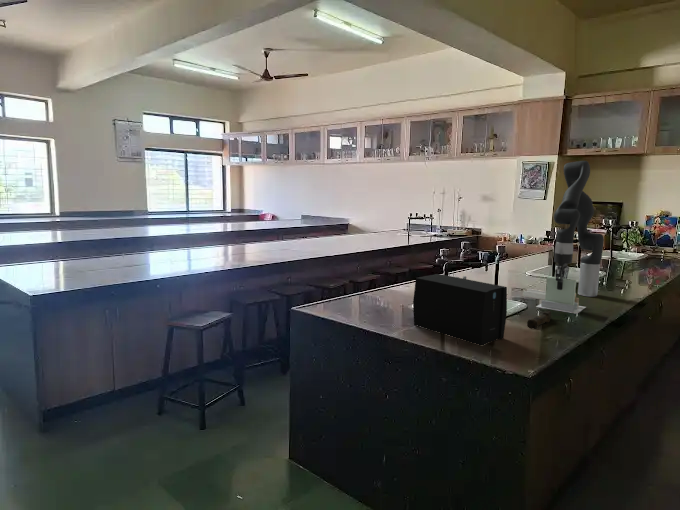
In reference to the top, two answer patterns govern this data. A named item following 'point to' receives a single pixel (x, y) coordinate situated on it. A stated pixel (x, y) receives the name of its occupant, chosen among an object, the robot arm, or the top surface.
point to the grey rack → (561, 306)
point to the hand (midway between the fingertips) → (560, 288)
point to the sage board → (560, 291)
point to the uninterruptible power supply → (460, 307)
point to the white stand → (534, 294)
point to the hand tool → (539, 320)
